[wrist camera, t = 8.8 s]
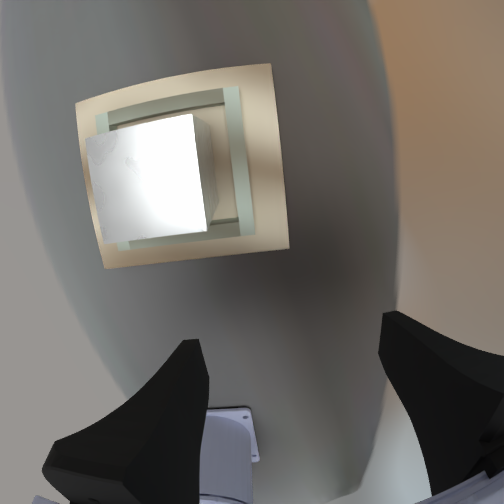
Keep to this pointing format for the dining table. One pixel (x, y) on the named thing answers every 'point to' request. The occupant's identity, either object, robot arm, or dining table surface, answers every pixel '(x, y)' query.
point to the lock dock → (224, 153)
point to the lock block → (153, 179)
